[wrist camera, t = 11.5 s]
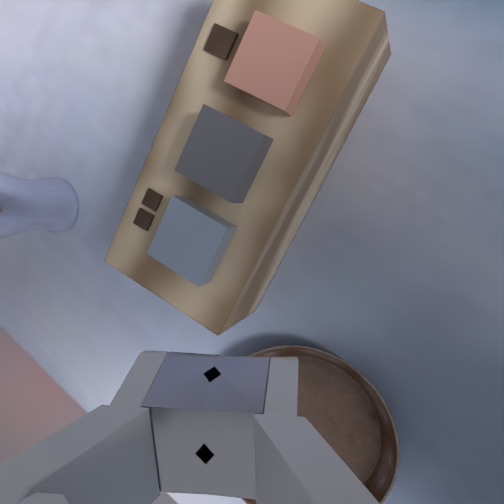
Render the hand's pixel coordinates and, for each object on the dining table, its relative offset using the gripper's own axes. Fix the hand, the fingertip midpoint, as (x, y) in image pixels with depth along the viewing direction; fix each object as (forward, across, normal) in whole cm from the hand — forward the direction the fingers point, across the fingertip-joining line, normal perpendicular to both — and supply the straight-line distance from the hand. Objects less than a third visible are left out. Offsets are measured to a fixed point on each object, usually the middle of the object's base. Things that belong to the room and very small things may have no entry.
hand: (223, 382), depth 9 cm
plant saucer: (+28, -2, +27) cm, 39 cm away
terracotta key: (+28, 0, -6) cm, 29 cm away
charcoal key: (+26, +4, 0) cm, 26 cm away
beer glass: (+40, +26, +8) cm, 49 cm away
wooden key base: (+36, +2, +3) cm, 36 cm away
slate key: (+26, +7, +7) cm, 28 cm away
